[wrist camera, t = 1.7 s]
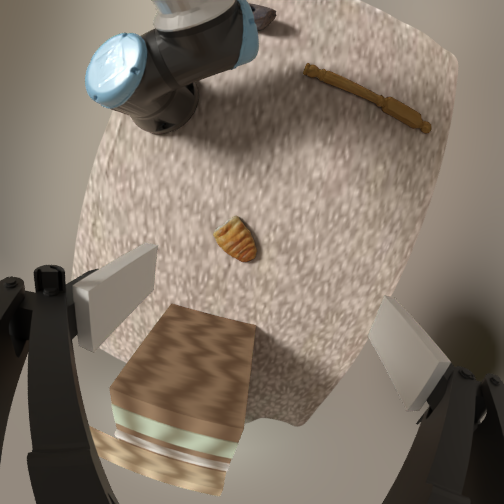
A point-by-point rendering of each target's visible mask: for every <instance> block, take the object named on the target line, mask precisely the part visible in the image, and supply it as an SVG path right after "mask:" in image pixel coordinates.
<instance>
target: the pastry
mask: <svg viewBox="0 0 504 504" xmlns="http://www.w3.org/2000/svg"><path fill="white" fill-rule="evenodd" d="M213 235H214V237H215V239H216V241H217V243H218V245H219V246H220V247H221V248H222V249H223V250H224V251H225V252H226V253H227V254H229V255H231V256H232V257H234V258H236V259H238V260H239V261H241V262H248V261H250V260H252V259H254V258H255V257H256V252H257V249H256V246H255V243H254V240H253V238H252V236H251V232H250V231H249V230H248V229H247V228H246V227H245V225H244V224H243V222H242V221H241V220H240V218H239V217H238V216H233V217H232V218H231V219H229V220H228V221H227V222H226V223H225V224H224V225H222V226H219V227H218V228H217V229H216V230H215V231H214V234H213Z"/></svg>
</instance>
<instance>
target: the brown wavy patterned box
mask: <svg viewBox="0 0 504 504" xmlns="http://www.w3.org/2000/svg"><path fill="white" fill-rule="evenodd" d="M255 329H256V325H252V324H248V323H244V322H239V321H235V320H231V319H227V318H223V317H219V316H215V315H211V314H207V313H204V312H200V311H196V310H193V309H189V308H185V307H182V306H178V305H175V304H171V305H170V306H169V308H168V309H167V310H166V312H165V313H164V314H163V315H162V317H161V318H160V319H159V321H158V322H157V323H156V325H155V326H154V327H153V329H152V330H151V331H150V333H149V334H148V335H147V337H146V338H145V339H144V341H143V342H142V343H141V345H140V346H139V348H138V349H137V350H136V352H135V353H134V354H133V356H132V357H131V358H130V360H129V361H128V363H127V364H126V366H125V367H124V368H123V369H122V371H121V372H120V374H119V375H118V377H117V378H116V379H115V381H114V382H113V384H112V385H111V386H110V395H111V401H112V410H113V415H114V420H115V422H116V427H117V431H116V432H115V437H118V438H119V440H121V441H123V442H125V443H128V444H130V445H133V446H135V447H138V448H140V449H143V450H146V451H149V452H151V453H154V454H157V455H160V456H163V457H166V458H169V459H173V460H176V461H179V462H183V463H187V464H190V465H194V466H198V467H202V468H206V469H211V470H215V471H220V472H225V473H226V471H228V470H229V464H230V461H231V459H232V457H233V455H234V453H235V450H236V448H237V445H238V442H239V440H240V437H241V435H242V432H243V429H244V422H245V414H246V406H247V398H248V390H249V381H250V373H251V364H252V356H253V347H254V338H255Z"/></svg>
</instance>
